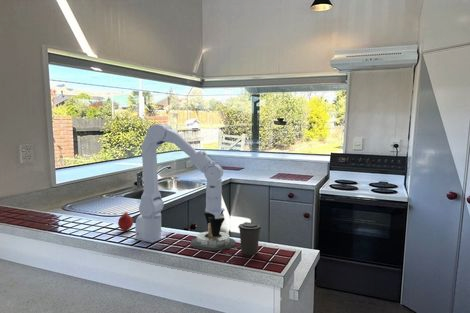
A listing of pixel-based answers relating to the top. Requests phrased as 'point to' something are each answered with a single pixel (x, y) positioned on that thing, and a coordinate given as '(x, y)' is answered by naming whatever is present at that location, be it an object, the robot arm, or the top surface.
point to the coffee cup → (249, 237)
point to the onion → (125, 222)
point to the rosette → (213, 242)
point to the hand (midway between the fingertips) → (213, 233)
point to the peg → (210, 232)
